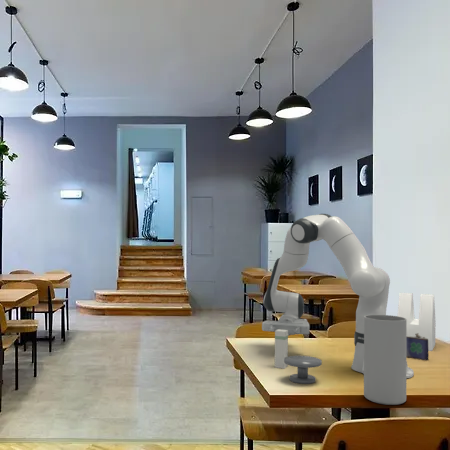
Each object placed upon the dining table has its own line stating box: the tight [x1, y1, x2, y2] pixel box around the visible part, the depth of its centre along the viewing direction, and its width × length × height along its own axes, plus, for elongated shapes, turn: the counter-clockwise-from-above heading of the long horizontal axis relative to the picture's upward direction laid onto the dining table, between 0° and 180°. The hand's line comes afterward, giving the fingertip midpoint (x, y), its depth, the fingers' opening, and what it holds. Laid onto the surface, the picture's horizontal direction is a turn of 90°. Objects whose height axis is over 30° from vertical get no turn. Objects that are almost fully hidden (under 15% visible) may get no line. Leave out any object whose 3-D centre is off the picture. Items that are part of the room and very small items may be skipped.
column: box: [274, 329, 289, 369], centre depth 181 cm, size 4×4×14 cm
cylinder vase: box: [363, 314, 407, 406], centre depth 145 cm, size 12×12×25 cm
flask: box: [406, 333, 430, 361], centre depth 199 cm, size 9×3×11 cm, turn 50°
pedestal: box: [284, 355, 323, 385], centre depth 163 cm, size 13×13×7 cm
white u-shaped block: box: [397, 292, 436, 352], centre depth 226 cm, size 19×15×25 cm
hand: (283, 330), depth 193 cm, fingers open, 8 cm apart
